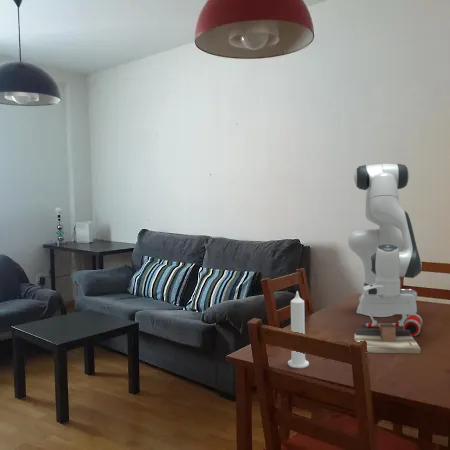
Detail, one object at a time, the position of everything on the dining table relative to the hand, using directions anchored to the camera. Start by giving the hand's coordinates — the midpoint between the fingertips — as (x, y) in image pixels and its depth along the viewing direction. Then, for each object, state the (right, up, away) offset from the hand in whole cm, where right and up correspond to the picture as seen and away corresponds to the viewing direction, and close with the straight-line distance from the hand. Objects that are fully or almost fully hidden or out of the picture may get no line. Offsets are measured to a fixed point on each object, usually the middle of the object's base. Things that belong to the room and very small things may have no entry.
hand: (387, 325), depth 184 cm
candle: (-36, -10, -18) cm, 41 cm away
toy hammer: (+10, -6, +18) cm, 21 cm away
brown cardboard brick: (0, -5, +1) cm, 5 cm away
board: (-1, -7, -1) cm, 7 cm away
